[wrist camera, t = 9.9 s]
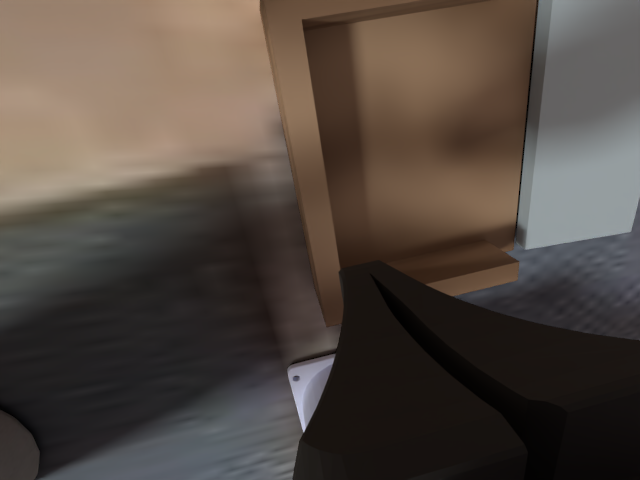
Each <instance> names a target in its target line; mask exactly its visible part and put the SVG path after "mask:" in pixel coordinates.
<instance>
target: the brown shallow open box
mask: <svg viewBox="0 0 640 480" xmlns="http://www.w3.org/2000/svg"><path fill="white" fill-rule="evenodd" d="M536 4H537V0H260V14H261V19H262V24H263V29H264V34H265V39H266V44H267V49H268V54H269V59H270V64H271V69H272V74H273V79H274V85H275V90H276V95H277V100H278V105H279V110H280V115H281V120H282V125H283V130H284V135H285V140H286V145H287V150H288V155H289V160H290V166H291V171H292V176H293V181H294V186H295V191H296V196H297V201H298V206H299V211H300V216H301V221H302V226H303V231H304V236H305V241H306V247H307V252H308V257H309V262H310V267H311V272H312V277H313V282H314V287H315V291H316V294H317V297H318V301H319V304H320V307H321V310H322V314H323V317H324V320H325V324H326V327H330V326H334V325H338V324H342V318H343V308H344V305H343V298H342V292H341V286H340V280H339V273H338V272H339V271H340V270H341V268H345V267H350V266H354V265H358V264H363V263H367V262H371V261H376V260H380V261H382V262H384V263H386V264H388V265H389V266H391V267H393V268H395V269H397V270H399V271H400V272H402V273H404V274H406V275H408V276H410V277H412V278H414V279H416V280H417V281H419V282H421V283H423V284H425V285H427V286H430V287H432V288H434V289H436V290H438V291H440V292H443V293H445V294H447V295H450V296H456V295H460V294H464V293H468V292H472V291H476V290H480V289H484V288H488V287H492V286H496V285H500V284H505V283H509V282H513V281H517V279H518V270H519V261H517V260H516V259H514V258H513V257H511V256H510V255H508V254H506V253H505V252H507V251H511V250H513V249H514V238H515V227H516V217H517V206H518V195H519V185H520V174H521V163H522V153H523V142H524V132H525V121H526V110H527V100H528V89H529V78H530V68H531V57H532V46H533V36H534V25H535V14H536Z"/></svg>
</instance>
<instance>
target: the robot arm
mask: <svg viewBox="0 0 640 480" xmlns="http://www.w3.org/2000/svg"><path fill="white" fill-rule="evenodd" d="M338 273H339V280H340V286H341V292H342V298H343V305H344V308H343V318H342V327H341V333H340V338H339V342H338V347H337V351H336V353H335V354H332V355H328V356H324V357H320V358H316V359H312V360H308V361H304V362H300V363H296V364H292V365H290V366H289V367H288V369H287V372H288V377H289V381H290V384H291V388H292V392H293V395H294V399H295V403H296V406H297V410H298V414H299V417H300V421H301V425H302V428H303V432H304V433H303V435H302V437H301V439H300V441H299V446H298V451H297V456H296V462H295V467H294V474H293V480H640V341H639V340H632V339H624V338H617V337H610V336H602V335H595V334H589V333H583V332H578V331H572V330H567V329H562V328H557V327H552V326H547V325H543V324H538V323H534V322H530V321H526V320H522V319H519V318H515V317H511V316H507V315H504V314H500V313H497V312H494V311H490V310H487V309H484V308H482V307H479V306H476V305H473V304H470V303H467V302H464V301H462V300H459V299H457V298H454V297H452V296H450V295H447V294H445V293H443V292H440V291H438V290H436V289H434V288H432V287H430V286H427V285H425V284H423V283H421V282H419V281H417V280H416V279H414V278H412V277H410V276H408V275H406V274H404V273H402V272H400V271H399V270H397V269H395V268H393V267H391V266H389V265H388V264H386V263H384V262H382V261H380V260H376V261H371V262H367V263H363V264H358V265H354V266H350V267H345V268H341V270H340V271H339V272H338ZM294 376H297V377H294Z"/></svg>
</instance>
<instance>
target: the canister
mask: <svg viewBox="0 0 640 480" xmlns="http://www.w3.org/2000/svg"><path fill="white" fill-rule="evenodd" d="M39 457H40V451H39V449H38V447H37V445H36V442H35V440H34V438H33V436H32V434H31V433H30V432H29V431H28V430H27V429H26V428H25V427H24V426H23V425H22V424H21V423H20V422H19V421H18V420H17V419H16V418H15V417H13V416H11V415H9V414H7V413H5V412H4V411H2V410H0V480H35V478H36V476H37V474H38V468H39Z"/></svg>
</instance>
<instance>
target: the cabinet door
mask: <svg viewBox="0 0 640 480" xmlns="http://www.w3.org/2000/svg"><path fill="white" fill-rule="evenodd" d="M639 198H640V0H539V4H538V15H537V25H536V35H535V46H534V56H533V67H532V77H531V87H530V98H529V108H528V119H527V129H526V139H525V150H524V160H523V171H522V181H521V192H520V202H519V212H518V223H517V233H516V243H517V244H518V245H519V246H521V247H522V248H523V249H525V250H526V249H532V248H538V247H544V246H550V245H556V244H562V243H568V242H573V241H579V240H585V239H591V238H597V237H603V236H609V235H614V234H620V233H626V232H631V229H632V225H633V221H634V217H635V213H636V209H637V206H638V202H639Z"/></svg>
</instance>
